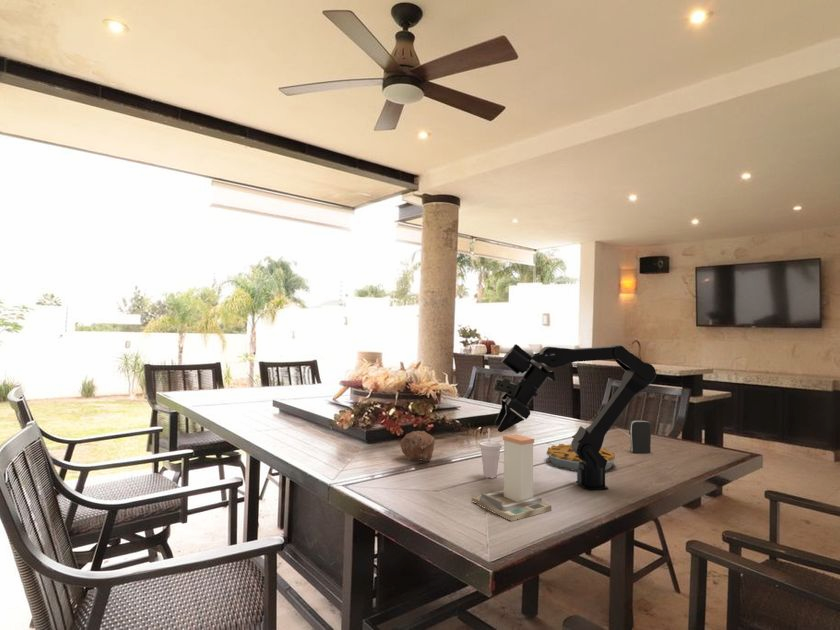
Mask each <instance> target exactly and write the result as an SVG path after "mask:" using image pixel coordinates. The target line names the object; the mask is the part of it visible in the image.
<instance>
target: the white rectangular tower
mask: <svg viewBox="0 0 840 630" xmlns="http://www.w3.org/2000/svg"><path fill="white" fill-rule="evenodd" d="M502 440H503V490H504V497H506V498H509V499H511V500H513V501H516V502H520V501H524V500H528V499H532V498H534V444H535V438H532V437H529V436H525V435H522V434H518V433H513V434H507V435H502Z"/></svg>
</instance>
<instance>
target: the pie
mask: <svg viewBox="0 0 840 630" xmlns="http://www.w3.org/2000/svg"><path fill="white" fill-rule="evenodd" d="M599 453H600V454H601V455H602V456H603V457H604V458H605V459H606V460H607V464H606V466H605V470H606V471H608V470H609V468H610V469H612V466H613V464H614V462H615V461H616V460H617V456H616V454H615V453H614V451H609V449H607V448H606V447H603V448H601V449H600V451H599ZM546 455H547V456H548V458H549V461H550V462H551V463H552V464H553V466H555V465H557V466H556V467H558V466H560V467H559V468H561V467H564V468H563V469H566V468H568V469H567V470H571V469H573V471H577V468H579V462H582V461H581V460H580V459H579V457H578V455H577V454H576V453H575V452H574V451H573V449H572V445H571V443H570V444H564V443H559V444H558V445H552V446H551V447H548V448H547V451H546ZM607 469H608V470H607Z"/></svg>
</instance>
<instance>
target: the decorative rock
mask: <svg viewBox="0 0 840 630" xmlns="http://www.w3.org/2000/svg"><path fill="white" fill-rule="evenodd" d="M435 440H436V439H435V438H434V437H433V436H432V434H430V433H428V432H426V431H424V430H416V431H415V430H413V431H411V432H408V433H406V434H405V435H404V437H403V438H401V440H400V449H401V452H402V454H403V455H405V456H406V458H407V459H408V460H409V461H413V460H418V459H422V460H421V461H426V460H428V461H430V460H432V459H433V458H432V457H433V453H434V451H435V450H434V449H435V442H436V441H435Z"/></svg>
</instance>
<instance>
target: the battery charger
mask: <svg viewBox="0 0 840 630" xmlns="http://www.w3.org/2000/svg"><path fill="white" fill-rule="evenodd" d="M651 427H652V426H651V423H650V422H649V421H647V420H646V421H645V420H635V419H634V420H631V421H630V422H629V424H628V434H629V435H630V449H629V450H630V452H631V453H633V454H650V453H652V452H651V441H652V429H651Z"/></svg>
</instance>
